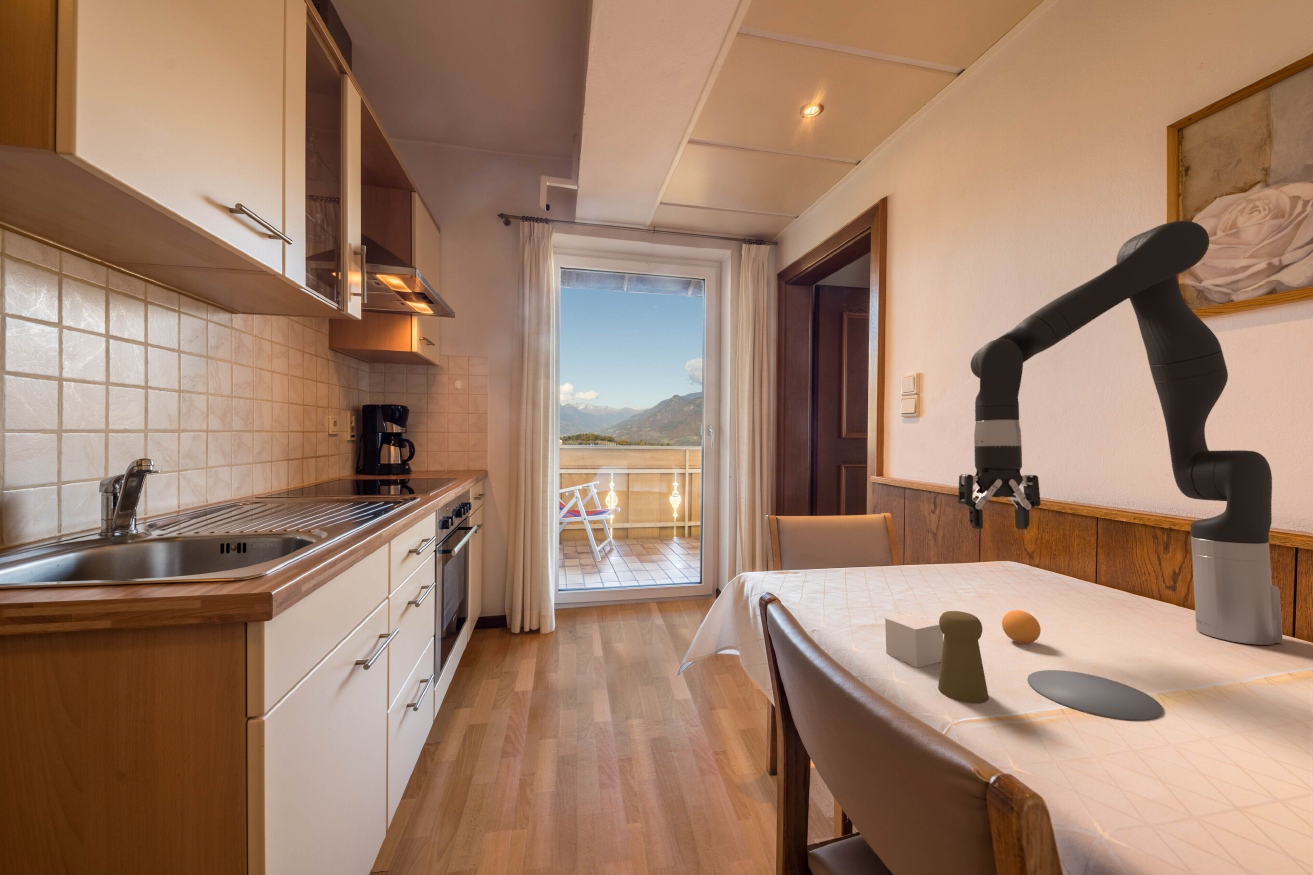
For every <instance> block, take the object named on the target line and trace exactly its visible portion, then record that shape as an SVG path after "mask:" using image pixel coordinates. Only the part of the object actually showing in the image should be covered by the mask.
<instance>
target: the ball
mask: <svg viewBox="0 0 1313 875" xmlns="http://www.w3.org/2000/svg"><path fill="white" fill-rule="evenodd" d="M1001 627H1002V631H1003V632H1004V634H1005V635H1006V636H1007V638H1009V639H1011V640H1012V641H1014V642H1016V643H1019V644H1032V643H1034V642H1035V641H1037V640H1038V639H1039V637H1040V635H1041V625H1040V623H1039V621H1038V620H1037V618H1035V616H1034V615H1032V614H1031V613H1029V612H1027V611H1024V610H1017V609H1015V610H1014V609H1013V610H1011V611H1008V612H1007V613H1005V614H1004V616H1003V618H1002V620H1001Z"/></svg>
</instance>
